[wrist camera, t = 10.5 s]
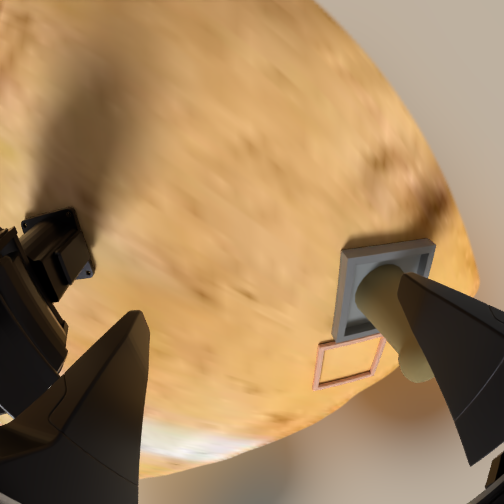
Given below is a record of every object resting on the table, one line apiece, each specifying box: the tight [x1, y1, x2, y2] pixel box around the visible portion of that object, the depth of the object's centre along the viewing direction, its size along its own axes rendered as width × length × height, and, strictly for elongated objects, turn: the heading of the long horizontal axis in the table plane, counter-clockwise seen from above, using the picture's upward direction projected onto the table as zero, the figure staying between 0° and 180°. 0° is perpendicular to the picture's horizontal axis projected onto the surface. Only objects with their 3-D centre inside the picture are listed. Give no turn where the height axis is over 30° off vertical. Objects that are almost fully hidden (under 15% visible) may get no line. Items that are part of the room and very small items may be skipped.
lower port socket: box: [332, 238, 436, 343], centre depth 25 cm, size 10×10×2 cm
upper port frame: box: [312, 333, 387, 391], centre depth 31 cm, size 9×9×1 cm
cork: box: [355, 264, 435, 383], centre depth 21 cm, size 6×6×11 cm
